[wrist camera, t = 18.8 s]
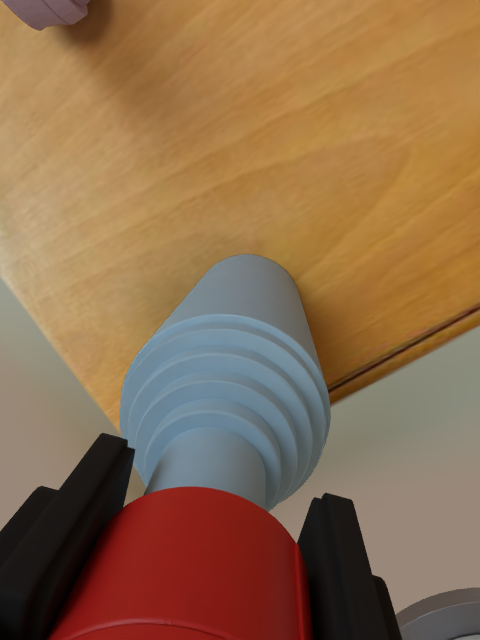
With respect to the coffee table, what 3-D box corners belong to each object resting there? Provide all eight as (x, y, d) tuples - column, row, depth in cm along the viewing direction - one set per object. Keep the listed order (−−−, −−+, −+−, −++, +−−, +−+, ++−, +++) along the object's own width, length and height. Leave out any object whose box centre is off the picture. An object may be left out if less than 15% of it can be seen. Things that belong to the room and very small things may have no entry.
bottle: (320, 327, 27) (439, 640, 8) (228, 375, 28) (141, 749, 9) (266, 233, 26) (256, 337, 7) (174, 288, 27) (-61, 509, 8)
